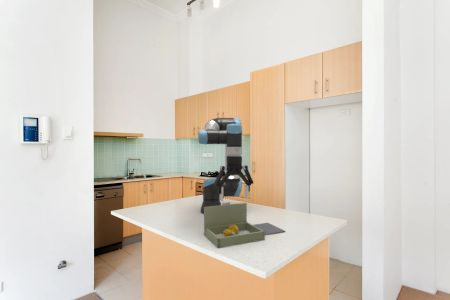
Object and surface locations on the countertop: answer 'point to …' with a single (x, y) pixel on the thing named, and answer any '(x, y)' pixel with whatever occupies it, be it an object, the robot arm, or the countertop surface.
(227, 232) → the pressure relief valve
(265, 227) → the pad
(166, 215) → the countertop surface
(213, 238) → the case
